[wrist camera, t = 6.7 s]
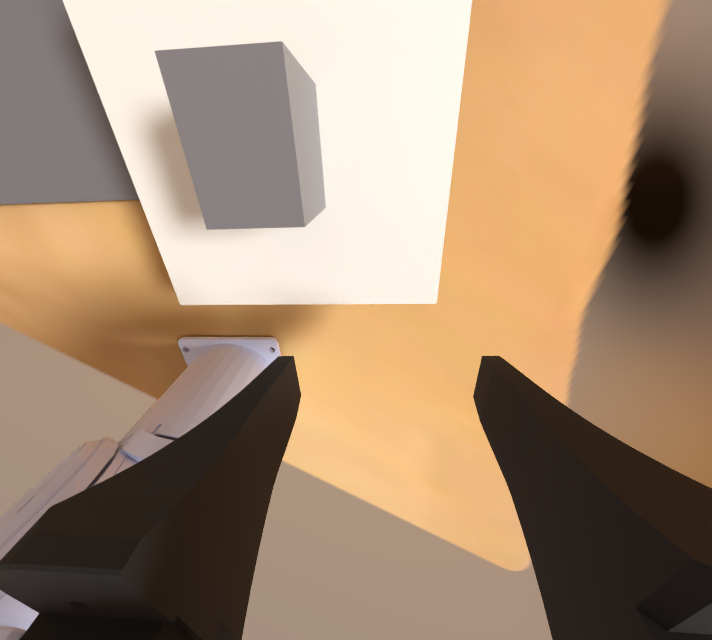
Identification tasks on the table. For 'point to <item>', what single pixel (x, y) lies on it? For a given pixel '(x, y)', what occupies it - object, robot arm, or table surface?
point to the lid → (286, 140)
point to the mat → (52, 113)
